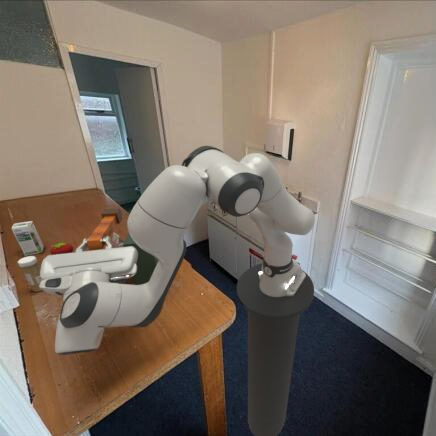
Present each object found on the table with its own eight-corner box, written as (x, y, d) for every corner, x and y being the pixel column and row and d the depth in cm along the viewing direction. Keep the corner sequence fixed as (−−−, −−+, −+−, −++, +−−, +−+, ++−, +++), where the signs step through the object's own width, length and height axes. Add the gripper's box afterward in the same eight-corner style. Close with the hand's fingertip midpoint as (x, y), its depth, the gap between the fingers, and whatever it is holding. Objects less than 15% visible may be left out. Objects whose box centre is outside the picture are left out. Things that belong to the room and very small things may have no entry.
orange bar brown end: (105, 248, 66) (101, 236, 64) (86, 250, 64) (81, 238, 62) (122, 218, 82) (120, 208, 81) (107, 219, 81) (104, 209, 79)
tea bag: (122, 248, 116) (118, 230, 112) (129, 253, 113) (124, 235, 108) (114, 251, 113) (109, 233, 109) (120, 256, 110) (115, 238, 105)
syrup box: (24, 256, 104) (10, 228, 98) (27, 250, 109) (14, 222, 102) (42, 253, 108) (29, 225, 101) (44, 246, 112) (32, 220, 106)
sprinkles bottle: (49, 288, 89) (36, 259, 84) (32, 293, 86) (17, 264, 80) (48, 282, 92) (35, 254, 86) (31, 287, 89) (16, 258, 83)
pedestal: (163, 299, 89) (151, 241, 78) (139, 303, 86) (123, 244, 75) (166, 279, 99) (155, 225, 88) (144, 282, 96) (131, 227, 85)
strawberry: (78, 259, 106) (71, 240, 101) (55, 266, 101) (46, 246, 96) (75, 253, 109) (68, 235, 105) (53, 259, 104) (45, 240, 100)
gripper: (133, 273, 61) (136, 228, 68) (29, 288, 53) (45, 236, 60) (139, 281, 66) (142, 239, 73) (45, 296, 58) (58, 248, 65)
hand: (97, 238), depth 67 cm, fingers closed on orange bar brown end, 3 cm apart
